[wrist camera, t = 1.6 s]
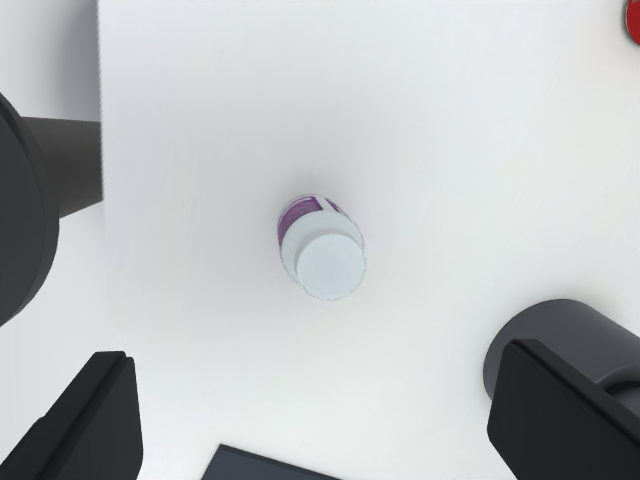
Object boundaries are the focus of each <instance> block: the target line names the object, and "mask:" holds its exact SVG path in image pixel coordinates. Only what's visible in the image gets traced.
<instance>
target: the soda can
mask: <svg viewBox="0 0 640 480" xmlns="http://www.w3.org/2000/svg"><path fill="white" fill-rule="evenodd" d="M625 23H626V27H627V30H628V33H629V34H630V36H631V37H632V38H633V40H634V41H635V42H636V43H637V44H639V45H640V0H629V1H628V4H627V7H626V13H625Z"/></svg>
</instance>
